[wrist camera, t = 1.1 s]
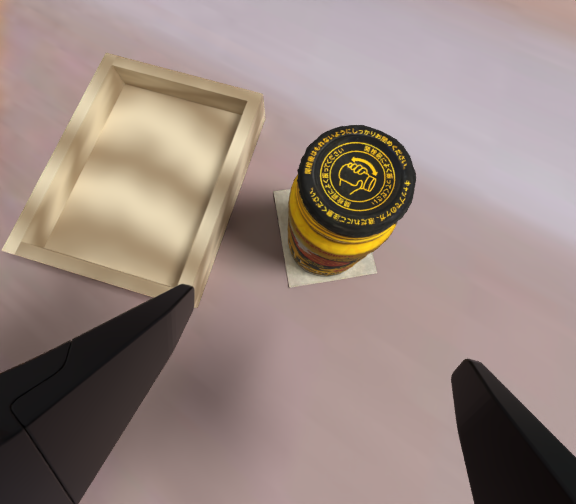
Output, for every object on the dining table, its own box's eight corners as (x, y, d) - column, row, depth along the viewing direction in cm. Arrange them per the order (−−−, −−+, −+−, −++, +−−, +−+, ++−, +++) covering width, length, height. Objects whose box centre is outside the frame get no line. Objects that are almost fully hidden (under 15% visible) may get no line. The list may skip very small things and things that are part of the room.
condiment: (289, 288, 23) (293, 261, 11) (273, 192, 25) (262, 83, 13) (376, 273, 23) (468, 233, 12) (354, 180, 25) (415, 63, 13)
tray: (197, 307, 23) (184, 306, 20) (37, 258, 23) (1, 250, 20) (265, 118, 26) (262, 93, 23) (125, 81, 27) (105, 52, 24)
